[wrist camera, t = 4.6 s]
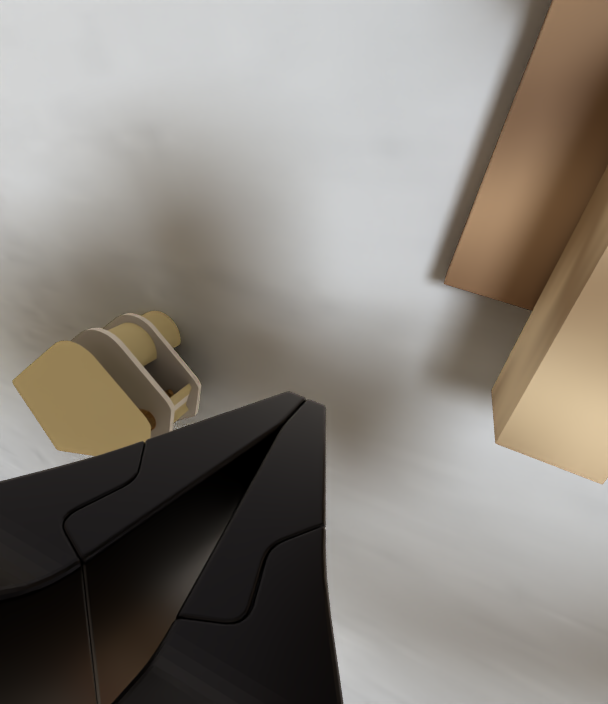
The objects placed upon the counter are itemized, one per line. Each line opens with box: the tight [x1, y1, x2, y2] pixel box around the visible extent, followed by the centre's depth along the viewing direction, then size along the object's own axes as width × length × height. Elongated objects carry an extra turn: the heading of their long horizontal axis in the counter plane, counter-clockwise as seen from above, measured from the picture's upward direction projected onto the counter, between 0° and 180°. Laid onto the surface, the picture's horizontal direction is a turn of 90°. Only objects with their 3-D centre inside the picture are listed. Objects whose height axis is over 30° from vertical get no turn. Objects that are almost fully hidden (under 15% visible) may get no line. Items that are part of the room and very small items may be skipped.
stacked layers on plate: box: [12, 311, 202, 456], centre depth 20 cm, size 10×9×6 cm
